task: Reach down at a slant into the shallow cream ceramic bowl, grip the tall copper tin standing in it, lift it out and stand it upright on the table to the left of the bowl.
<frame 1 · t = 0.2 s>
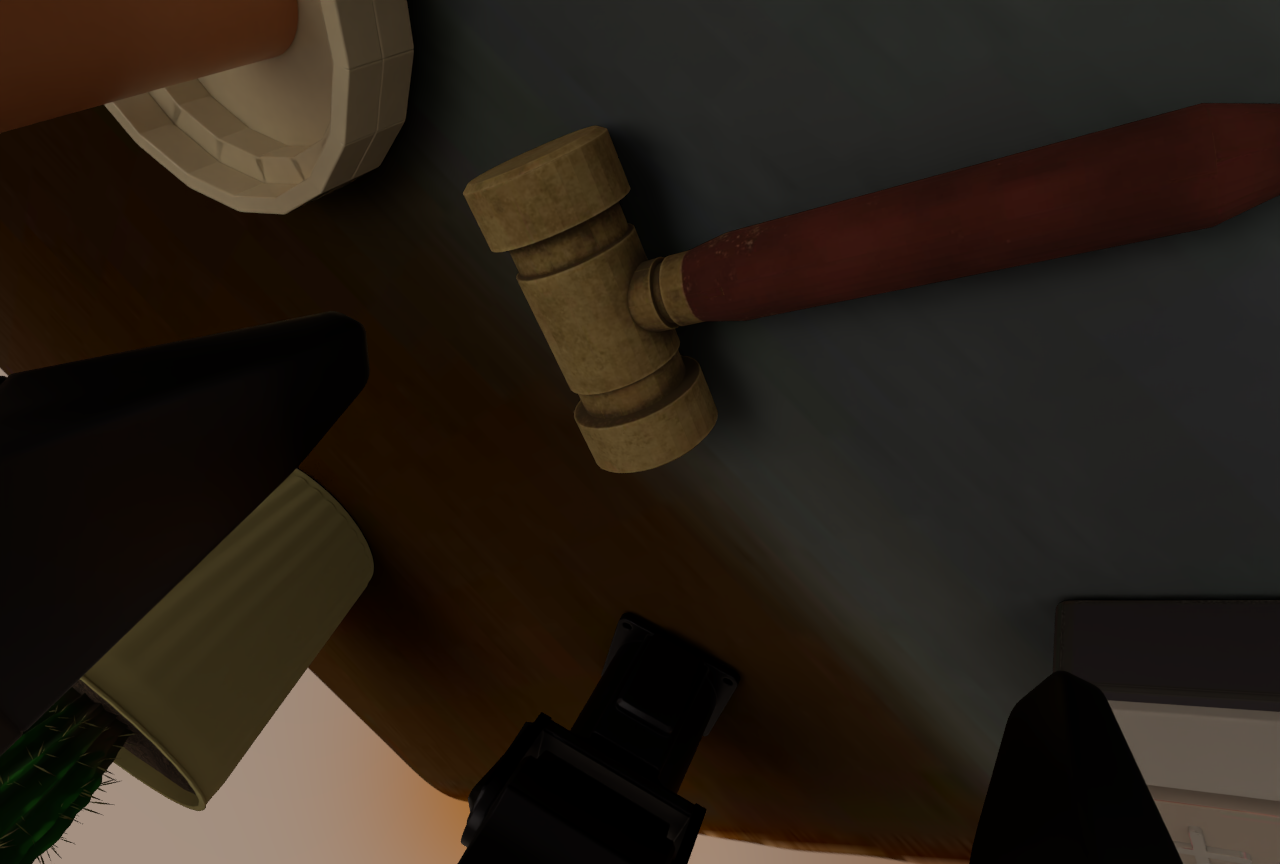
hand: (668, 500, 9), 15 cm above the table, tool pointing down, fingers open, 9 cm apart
potted cactus: (305, 520, 48), on the table
gavel: (873, 220, 21), on the table
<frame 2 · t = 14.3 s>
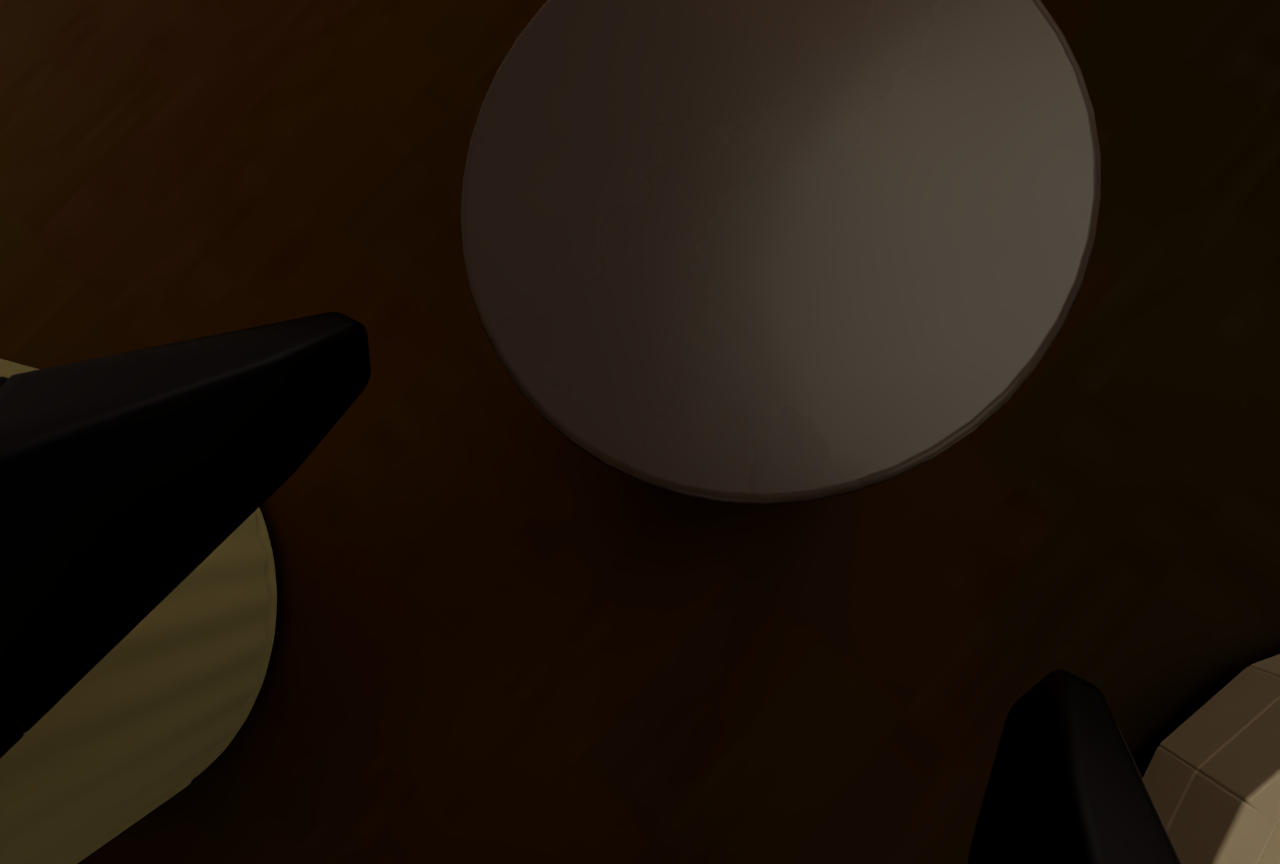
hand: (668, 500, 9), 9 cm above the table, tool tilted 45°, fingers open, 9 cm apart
copper tin: (772, 397, 18), on the table
potted cactus: (112, 596, 21), on the table, touching gripper
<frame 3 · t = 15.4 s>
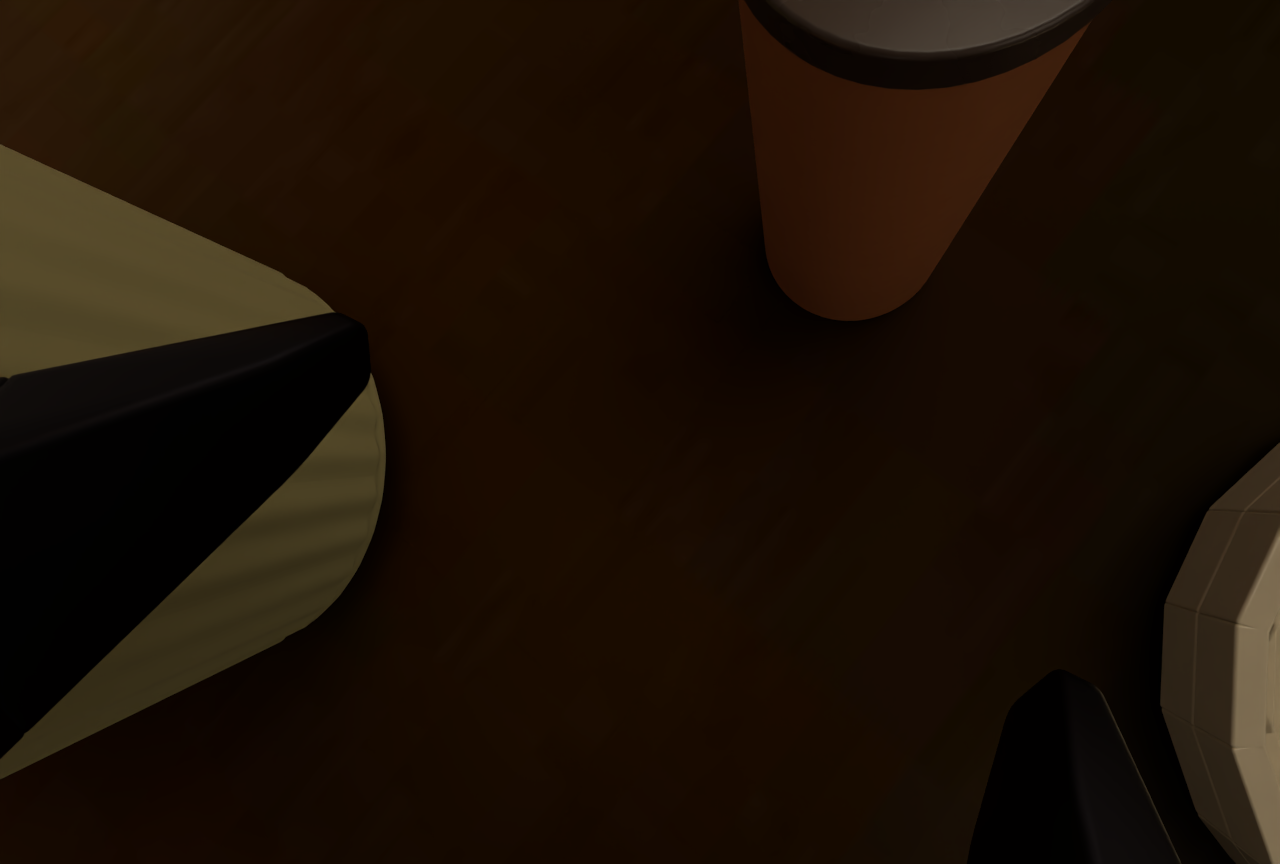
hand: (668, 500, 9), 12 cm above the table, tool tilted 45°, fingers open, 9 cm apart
copper tin: (851, 238, 20), on the table
potted cactus: (243, 456, 22), point 1 cm above the table
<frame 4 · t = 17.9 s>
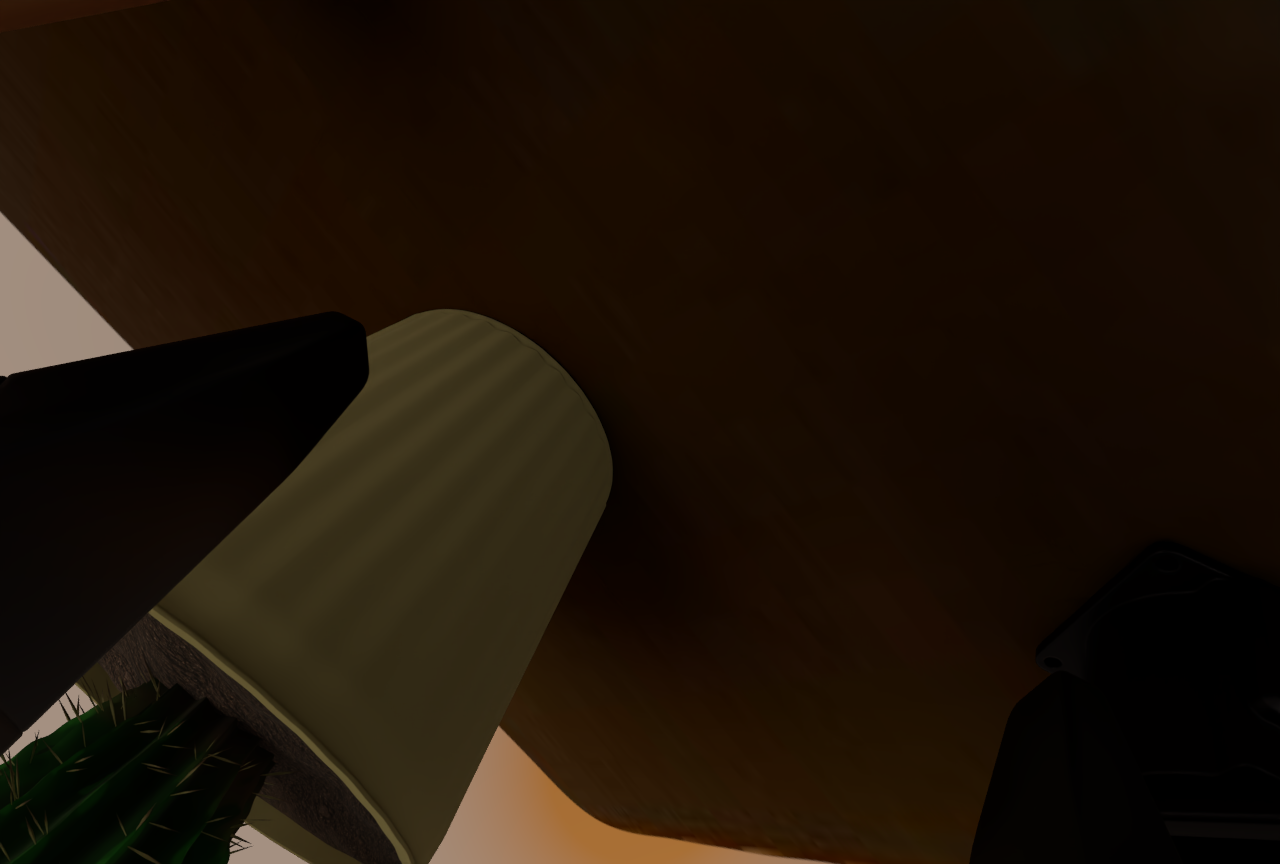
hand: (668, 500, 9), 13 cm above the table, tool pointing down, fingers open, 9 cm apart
potted cactus: (497, 425, 31), on the table
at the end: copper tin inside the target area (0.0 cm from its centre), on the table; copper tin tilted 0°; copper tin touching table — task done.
